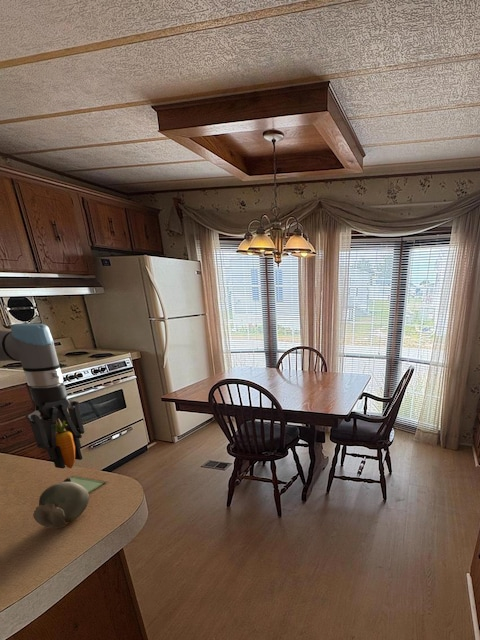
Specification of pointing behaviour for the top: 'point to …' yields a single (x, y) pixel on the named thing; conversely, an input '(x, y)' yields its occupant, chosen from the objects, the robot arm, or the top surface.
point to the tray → (87, 483)
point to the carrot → (65, 444)
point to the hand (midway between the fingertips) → (69, 462)
